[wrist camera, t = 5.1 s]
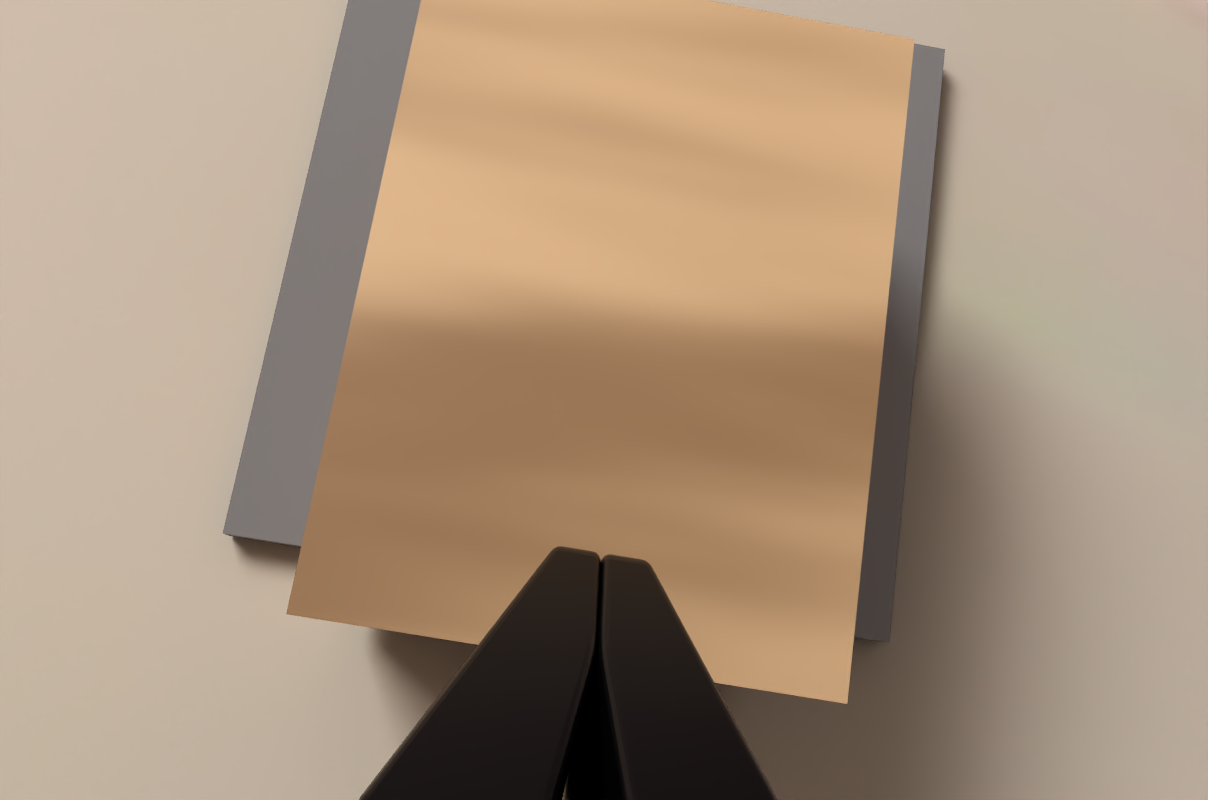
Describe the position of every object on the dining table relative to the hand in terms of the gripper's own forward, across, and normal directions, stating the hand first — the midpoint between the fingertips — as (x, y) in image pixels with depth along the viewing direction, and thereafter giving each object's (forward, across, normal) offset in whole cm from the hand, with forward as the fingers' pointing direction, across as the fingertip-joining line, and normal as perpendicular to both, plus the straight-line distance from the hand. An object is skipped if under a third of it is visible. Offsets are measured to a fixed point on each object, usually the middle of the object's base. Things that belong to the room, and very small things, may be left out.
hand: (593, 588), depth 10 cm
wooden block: (+3, 0, +4) cm, 4 cm away
